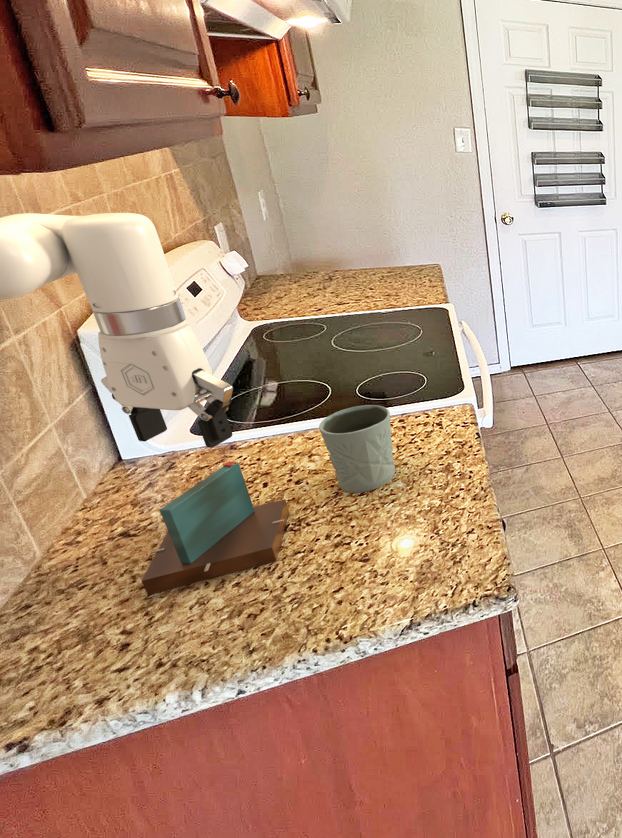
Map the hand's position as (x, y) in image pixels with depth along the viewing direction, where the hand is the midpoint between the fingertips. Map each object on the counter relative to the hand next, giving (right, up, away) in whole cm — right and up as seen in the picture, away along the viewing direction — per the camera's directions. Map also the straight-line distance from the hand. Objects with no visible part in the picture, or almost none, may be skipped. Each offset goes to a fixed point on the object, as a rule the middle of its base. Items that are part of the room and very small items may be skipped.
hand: (186, 438), depth 75 cm
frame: (-2, -16, +8) cm, 18 cm away
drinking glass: (+8, -12, +26) cm, 30 cm away
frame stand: (-2, -18, +9) cm, 20 cm away
